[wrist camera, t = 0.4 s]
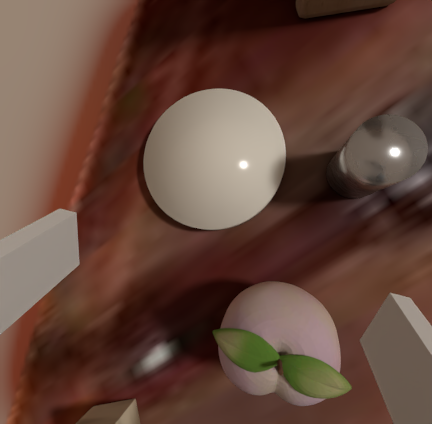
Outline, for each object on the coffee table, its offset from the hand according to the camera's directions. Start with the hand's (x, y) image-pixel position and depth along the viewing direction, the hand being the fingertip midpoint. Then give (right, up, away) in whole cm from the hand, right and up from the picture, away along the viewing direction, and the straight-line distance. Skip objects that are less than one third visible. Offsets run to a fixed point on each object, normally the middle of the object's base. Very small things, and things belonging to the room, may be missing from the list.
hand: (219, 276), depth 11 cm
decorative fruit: (+6, -8, +14) cm, 17 cm away
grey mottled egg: (+13, +6, +14) cm, 21 cm away
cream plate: (0, +8, +17) cm, 19 cm away
